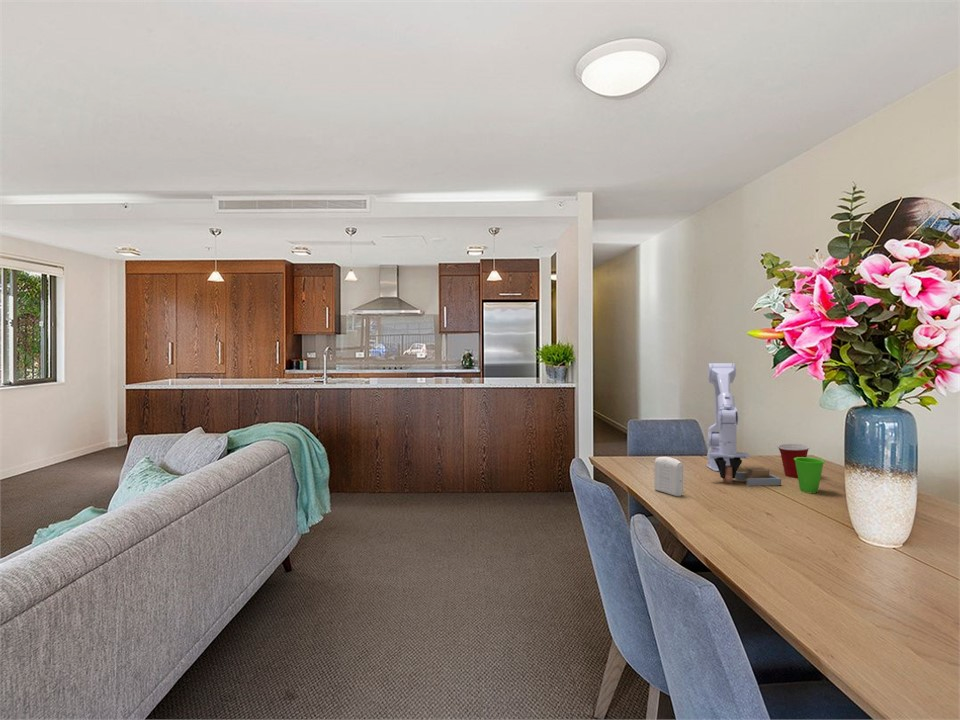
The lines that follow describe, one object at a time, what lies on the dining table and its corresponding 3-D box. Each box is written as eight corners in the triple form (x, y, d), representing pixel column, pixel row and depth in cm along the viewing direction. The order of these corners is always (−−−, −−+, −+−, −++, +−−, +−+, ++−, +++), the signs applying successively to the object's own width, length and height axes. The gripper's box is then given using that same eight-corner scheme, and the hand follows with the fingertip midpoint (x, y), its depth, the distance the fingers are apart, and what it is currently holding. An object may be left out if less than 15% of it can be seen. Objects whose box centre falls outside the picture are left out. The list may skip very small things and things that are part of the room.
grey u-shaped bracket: (734, 478, 194) (734, 472, 194) (766, 478, 194) (766, 472, 194) (748, 485, 184) (748, 479, 184) (781, 485, 184) (781, 478, 184)
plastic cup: (771, 472, 203) (771, 442, 203) (799, 472, 203) (799, 442, 203) (786, 479, 192) (786, 448, 192) (815, 479, 192) (816, 448, 192)
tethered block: (720, 480, 192) (720, 464, 192) (761, 480, 191) (762, 464, 191) (726, 484, 187) (726, 467, 187) (769, 483, 186) (769, 467, 186)
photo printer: (685, 495, 173) (685, 459, 173) (677, 497, 171) (677, 460, 171) (660, 488, 182) (660, 454, 182) (652, 490, 180) (652, 455, 180)
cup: (830, 494, 172) (830, 462, 172) (803, 494, 172) (803, 462, 172) (813, 487, 181) (814, 457, 181) (788, 487, 181) (788, 457, 181)
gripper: (712, 443, 185) (712, 480, 185) (753, 443, 185) (752, 480, 185) (704, 440, 192) (704, 475, 192) (743, 439, 192) (743, 475, 192)
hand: (727, 477), depth 189 cm, fingers closed on tethered block, 3 cm apart
